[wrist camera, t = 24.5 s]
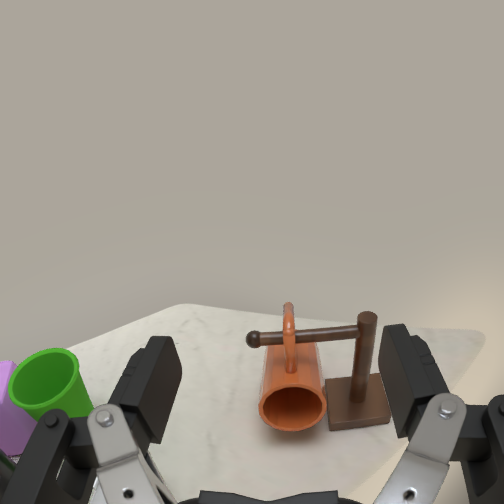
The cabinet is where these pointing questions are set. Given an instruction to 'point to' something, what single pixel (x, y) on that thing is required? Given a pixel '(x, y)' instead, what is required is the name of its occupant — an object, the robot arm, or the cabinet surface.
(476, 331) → the cabinet surface
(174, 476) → the cabinet surface
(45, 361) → the cup
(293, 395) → the mug
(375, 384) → the mug stand
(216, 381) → the cabinet surface
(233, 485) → the cabinet surface
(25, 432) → the teapot
